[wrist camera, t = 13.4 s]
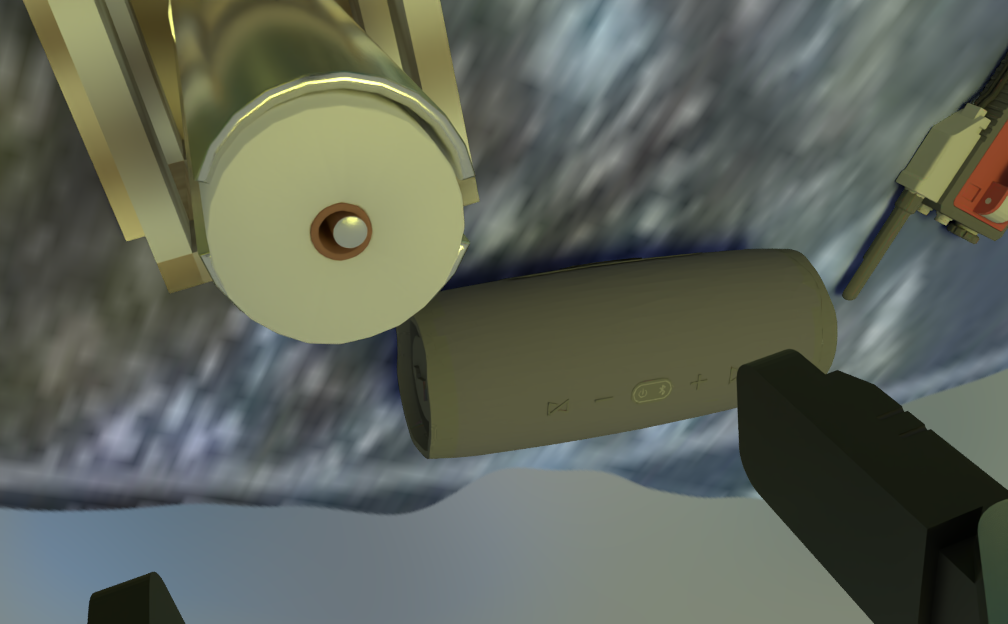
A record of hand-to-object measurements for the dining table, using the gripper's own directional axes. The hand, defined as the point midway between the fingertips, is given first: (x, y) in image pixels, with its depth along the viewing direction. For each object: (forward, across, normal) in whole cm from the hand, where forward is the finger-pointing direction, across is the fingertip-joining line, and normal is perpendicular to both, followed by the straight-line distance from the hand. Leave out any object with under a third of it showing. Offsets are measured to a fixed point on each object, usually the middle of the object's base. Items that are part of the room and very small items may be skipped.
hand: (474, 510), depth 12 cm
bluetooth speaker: (+36, -14, +20) cm, 43 cm away
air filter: (+34, 0, 0) cm, 35 cm away
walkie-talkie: (+36, -40, +20) cm, 58 cm away
